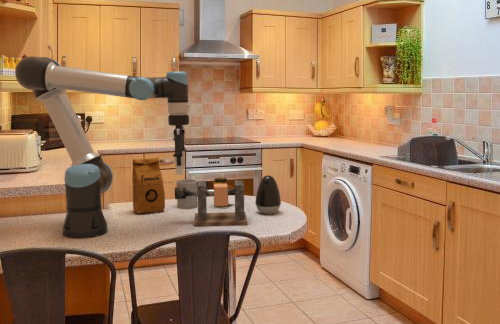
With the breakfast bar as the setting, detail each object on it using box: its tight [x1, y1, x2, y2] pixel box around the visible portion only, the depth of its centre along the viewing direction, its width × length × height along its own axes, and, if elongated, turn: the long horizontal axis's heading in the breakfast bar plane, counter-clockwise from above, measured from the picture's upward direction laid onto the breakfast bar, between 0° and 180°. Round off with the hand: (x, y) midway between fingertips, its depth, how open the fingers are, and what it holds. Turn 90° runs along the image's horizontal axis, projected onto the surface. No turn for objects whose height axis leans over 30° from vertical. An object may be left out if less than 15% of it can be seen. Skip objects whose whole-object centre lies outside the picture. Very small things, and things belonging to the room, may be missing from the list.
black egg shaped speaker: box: [254, 175, 282, 215], centre depth 217 cm, size 10×10×15 cm
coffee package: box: [131, 157, 166, 214], centre depth 220 cm, size 10×12×22 cm
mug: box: [176, 178, 198, 210], centre depth 231 cm, size 12×8×11 cm
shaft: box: [174, 187, 236, 200], centre depth 204 cm, size 24×4×4 cm, turn 94°
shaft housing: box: [193, 180, 248, 228], centre depth 205 cm, size 20×14×14 cm
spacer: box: [213, 183, 229, 206], centre depth 204 cm, size 5×7×7 cm
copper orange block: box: [210, 177, 235, 209], centre depth 230 cm, size 7×8×12 cm
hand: (180, 171), depth 202 cm, fingers open, 13 cm apart
